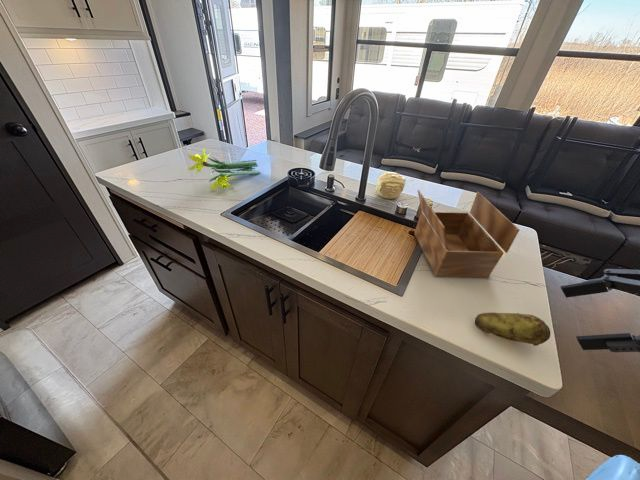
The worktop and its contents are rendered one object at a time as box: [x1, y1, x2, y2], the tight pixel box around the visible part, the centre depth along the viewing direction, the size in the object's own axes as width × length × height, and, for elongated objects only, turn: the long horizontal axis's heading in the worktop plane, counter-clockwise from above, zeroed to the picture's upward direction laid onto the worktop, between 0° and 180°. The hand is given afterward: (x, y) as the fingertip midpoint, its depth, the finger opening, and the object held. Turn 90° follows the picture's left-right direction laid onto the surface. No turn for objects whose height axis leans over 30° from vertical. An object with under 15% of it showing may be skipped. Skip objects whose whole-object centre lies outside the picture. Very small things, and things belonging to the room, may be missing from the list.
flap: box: [417, 189, 448, 250], centre depth 75 cm, size 21×8×1 cm
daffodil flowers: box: [187, 145, 261, 192], centre depth 113 cm, size 17×15×35 cm
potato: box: [474, 311, 551, 347], centre depth 58 cm, size 8×13×8 cm, turn 47°
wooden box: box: [413, 191, 520, 278], centre depth 78 cm, size 21×17×17 cm
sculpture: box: [375, 171, 406, 200], centre depth 111 cm, size 12×12×11 cm
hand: (570, 315), depth 50 cm, fingers open, 13 cm apart
